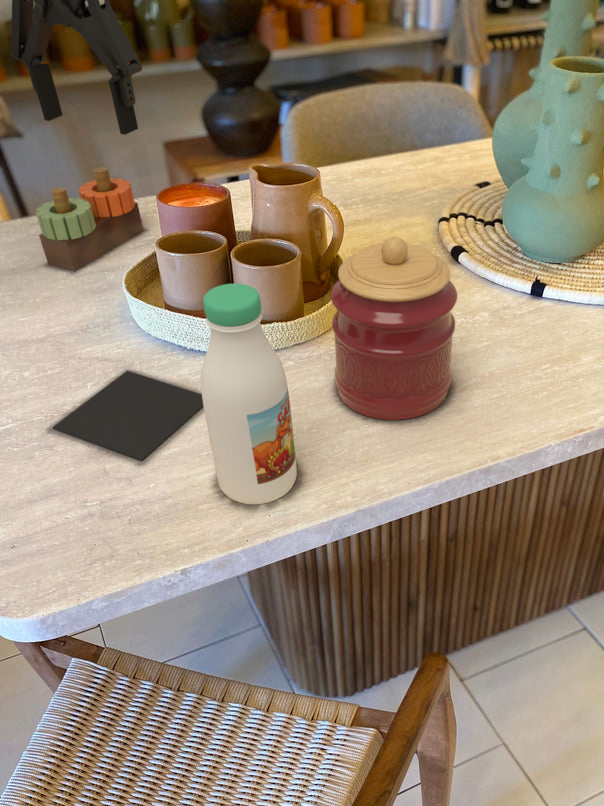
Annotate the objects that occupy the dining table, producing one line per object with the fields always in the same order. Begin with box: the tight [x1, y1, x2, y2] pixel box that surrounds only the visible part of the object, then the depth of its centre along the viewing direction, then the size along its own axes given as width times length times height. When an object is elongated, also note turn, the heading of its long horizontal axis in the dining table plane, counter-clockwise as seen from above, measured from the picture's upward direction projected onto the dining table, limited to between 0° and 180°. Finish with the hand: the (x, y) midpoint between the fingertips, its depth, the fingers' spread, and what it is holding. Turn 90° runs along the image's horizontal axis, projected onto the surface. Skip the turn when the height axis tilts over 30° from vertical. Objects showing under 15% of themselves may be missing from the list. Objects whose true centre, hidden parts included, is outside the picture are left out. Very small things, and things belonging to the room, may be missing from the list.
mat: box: [52, 370, 204, 462], centre depth 83 cm, size 12×12×1 cm
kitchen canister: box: [330, 236, 458, 421], centre depth 81 cm, size 13×13×18 cm
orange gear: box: [78, 177, 136, 217], centre depth 112 cm, size 7×7×3 cm
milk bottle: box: [200, 283, 298, 505], centre depth 69 cm, size 8×8×20 cm
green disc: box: [35, 197, 96, 240], centre depth 107 cm, size 7×7×3 cm
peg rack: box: [38, 166, 145, 272], centre depth 110 cm, size 15×5×10 cm, turn 153°
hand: (90, 124), depth 105 cm, fingers open, 13 cm apart
